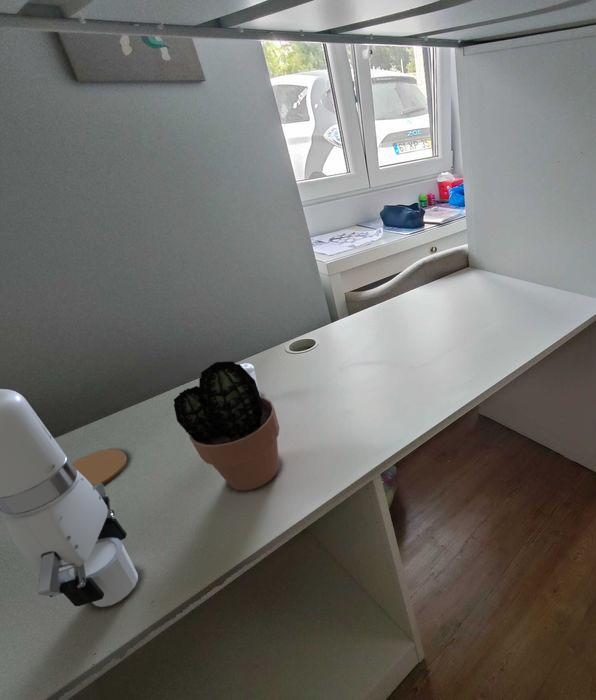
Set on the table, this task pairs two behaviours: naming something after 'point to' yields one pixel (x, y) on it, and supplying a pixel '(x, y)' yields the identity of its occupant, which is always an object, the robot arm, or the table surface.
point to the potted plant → (231, 425)
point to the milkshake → (250, 372)
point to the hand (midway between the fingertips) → (103, 568)
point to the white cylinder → (109, 571)
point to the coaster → (101, 465)
